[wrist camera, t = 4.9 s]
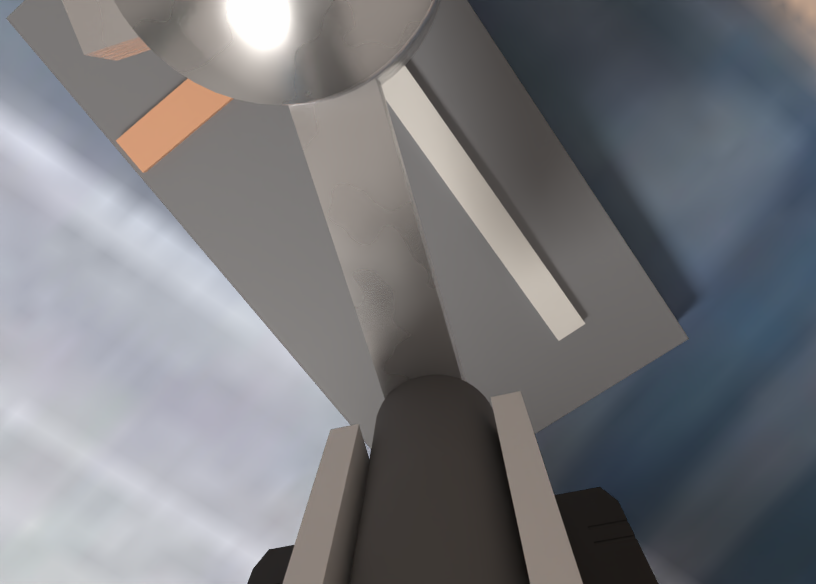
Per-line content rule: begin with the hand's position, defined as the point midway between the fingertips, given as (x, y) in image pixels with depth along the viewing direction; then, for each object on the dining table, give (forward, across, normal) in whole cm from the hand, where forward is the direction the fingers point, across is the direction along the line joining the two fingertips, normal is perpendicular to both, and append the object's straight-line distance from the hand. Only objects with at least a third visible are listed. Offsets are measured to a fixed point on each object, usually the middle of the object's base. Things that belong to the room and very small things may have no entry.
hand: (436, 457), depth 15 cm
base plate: (+10, +1, -6) cm, 12 cm away
